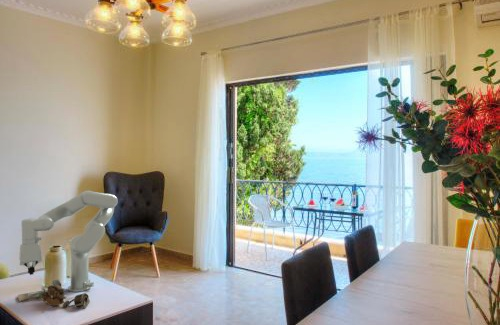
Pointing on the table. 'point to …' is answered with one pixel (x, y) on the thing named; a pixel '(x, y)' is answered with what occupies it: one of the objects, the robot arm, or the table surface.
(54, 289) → the wooden carving
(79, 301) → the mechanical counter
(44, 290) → the plunger
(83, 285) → the robot arm
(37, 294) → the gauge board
